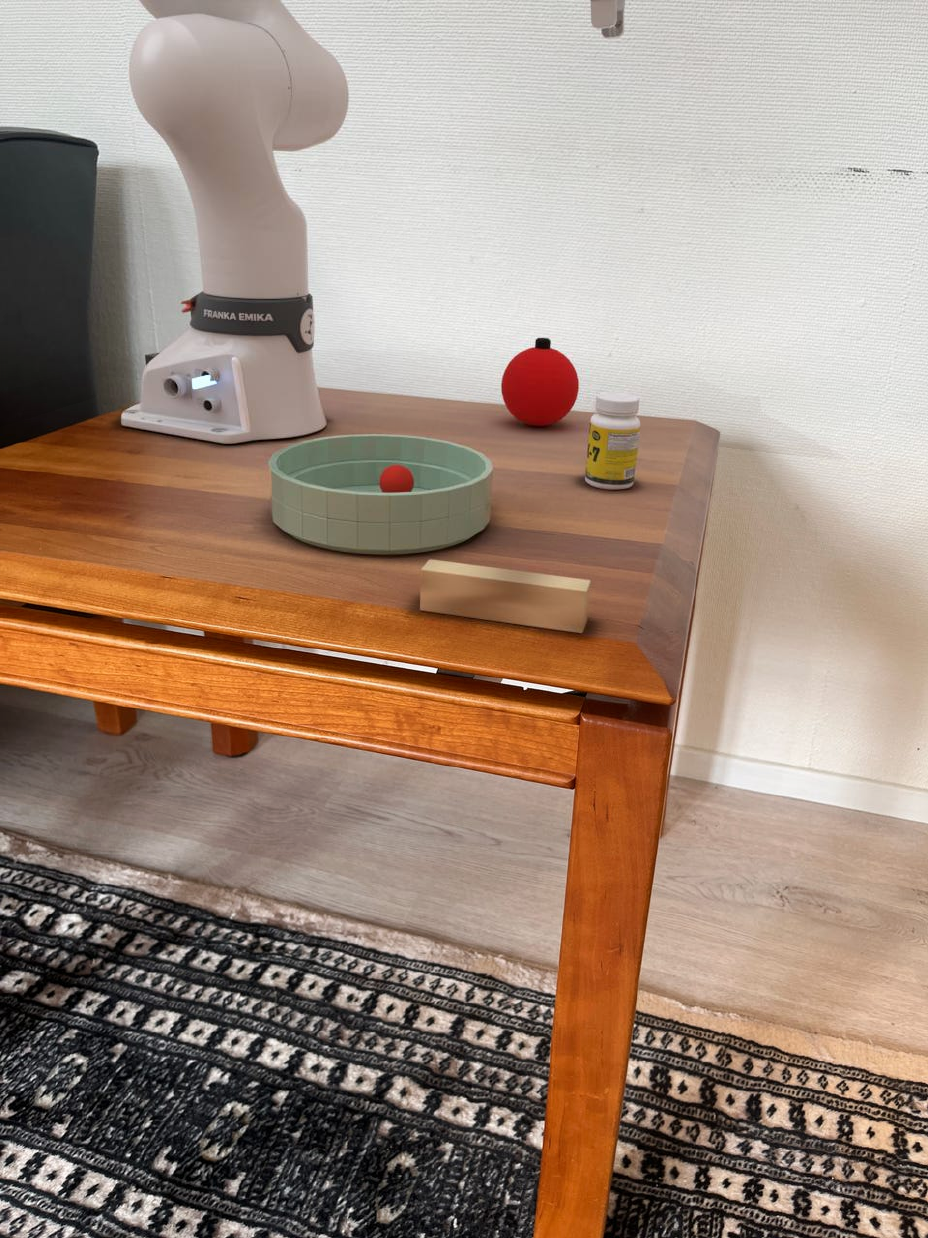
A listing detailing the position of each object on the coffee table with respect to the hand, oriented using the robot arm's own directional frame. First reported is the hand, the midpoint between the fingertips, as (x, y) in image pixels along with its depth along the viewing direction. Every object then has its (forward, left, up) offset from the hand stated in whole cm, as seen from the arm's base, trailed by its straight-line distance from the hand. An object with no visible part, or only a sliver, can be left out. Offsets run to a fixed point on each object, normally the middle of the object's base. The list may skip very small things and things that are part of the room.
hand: (608, 32), depth 77 cm
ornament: (-8, +25, -37) cm, 46 cm away
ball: (-14, -10, -35) cm, 39 cm away
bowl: (-14, -14, -37) cm, 42 cm away
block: (0, -30, -37) cm, 48 cm away
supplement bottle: (+3, +4, -37) cm, 38 cm away
